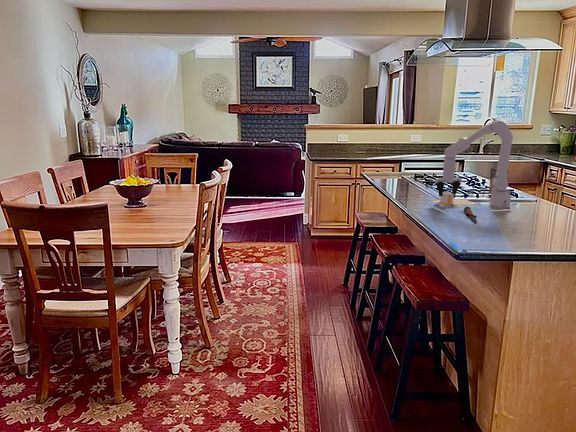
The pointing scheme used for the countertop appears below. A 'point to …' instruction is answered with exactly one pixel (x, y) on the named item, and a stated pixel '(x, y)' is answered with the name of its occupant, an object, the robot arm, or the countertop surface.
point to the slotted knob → (447, 197)
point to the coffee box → (493, 173)
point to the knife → (470, 214)
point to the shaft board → (455, 202)
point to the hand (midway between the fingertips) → (447, 195)
